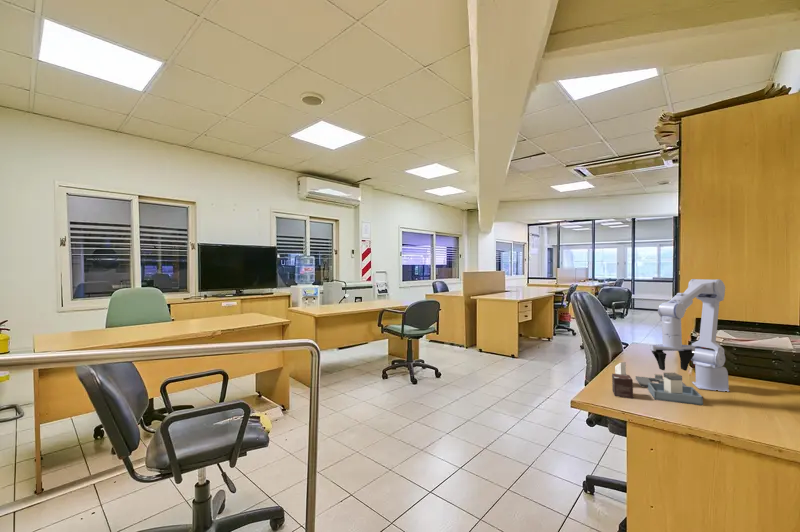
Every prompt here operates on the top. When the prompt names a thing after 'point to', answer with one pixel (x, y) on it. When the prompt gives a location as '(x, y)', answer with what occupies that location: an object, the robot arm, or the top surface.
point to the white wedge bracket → (620, 368)
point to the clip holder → (644, 380)
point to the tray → (687, 397)
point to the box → (622, 385)
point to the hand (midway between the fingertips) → (672, 369)
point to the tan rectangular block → (673, 383)
